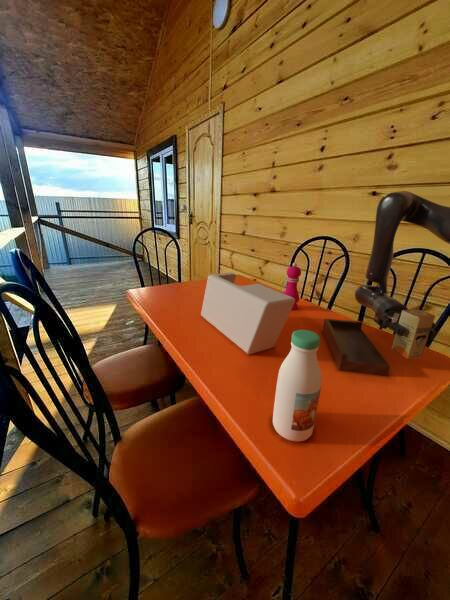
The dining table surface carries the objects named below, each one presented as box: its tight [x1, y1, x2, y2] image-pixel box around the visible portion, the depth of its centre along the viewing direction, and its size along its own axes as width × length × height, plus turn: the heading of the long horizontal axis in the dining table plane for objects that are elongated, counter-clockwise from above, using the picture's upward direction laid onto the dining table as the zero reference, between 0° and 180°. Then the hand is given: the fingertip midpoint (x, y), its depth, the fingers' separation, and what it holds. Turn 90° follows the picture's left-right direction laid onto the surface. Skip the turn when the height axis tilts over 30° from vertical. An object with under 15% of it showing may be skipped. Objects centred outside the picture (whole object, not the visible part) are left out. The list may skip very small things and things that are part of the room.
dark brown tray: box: [322, 318, 391, 377], centre depth 78 cm, size 12×24×5 cm, turn 170°
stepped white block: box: [200, 272, 295, 355], centre depth 84 cm, size 30×10×30 cm, turn 30°
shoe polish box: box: [390, 308, 436, 360], centre depth 68 cm, size 5×5×12 cm
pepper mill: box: [282, 262, 302, 311], centre depth 109 cm, size 7×7×20 cm
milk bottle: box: [272, 329, 323, 442], centre depth 46 cm, size 8×8×20 cm
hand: (417, 334), depth 65 cm, fingers closed on shoe polish box, 6 cm apart
